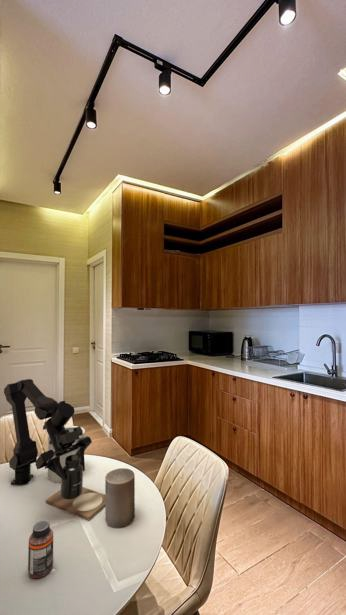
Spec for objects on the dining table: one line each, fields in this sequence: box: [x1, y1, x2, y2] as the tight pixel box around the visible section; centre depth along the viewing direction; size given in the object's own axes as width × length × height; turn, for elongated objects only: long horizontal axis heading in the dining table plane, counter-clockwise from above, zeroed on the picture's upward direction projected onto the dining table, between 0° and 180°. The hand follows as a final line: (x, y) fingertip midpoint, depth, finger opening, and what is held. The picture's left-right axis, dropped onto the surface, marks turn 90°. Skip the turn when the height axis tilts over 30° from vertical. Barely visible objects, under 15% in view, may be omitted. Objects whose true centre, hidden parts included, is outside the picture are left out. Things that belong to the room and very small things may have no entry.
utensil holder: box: [47, 425, 86, 484], centre depth 122 cm, size 15×15×18 cm
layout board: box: [45, 486, 105, 522], centre depth 104 cm, size 20×12×1 cm, turn 64°
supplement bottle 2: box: [60, 455, 84, 500], centre depth 97 cm, size 7×7×12 cm
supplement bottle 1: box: [27, 519, 54, 579], centre depth 76 cm, size 6×6×11 cm
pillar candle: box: [104, 467, 136, 529], centre depth 96 cm, size 10×10×15 cm
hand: (74, 475), depth 97 cm, fingers closed on supplement bottle 2, 7 cm apart
